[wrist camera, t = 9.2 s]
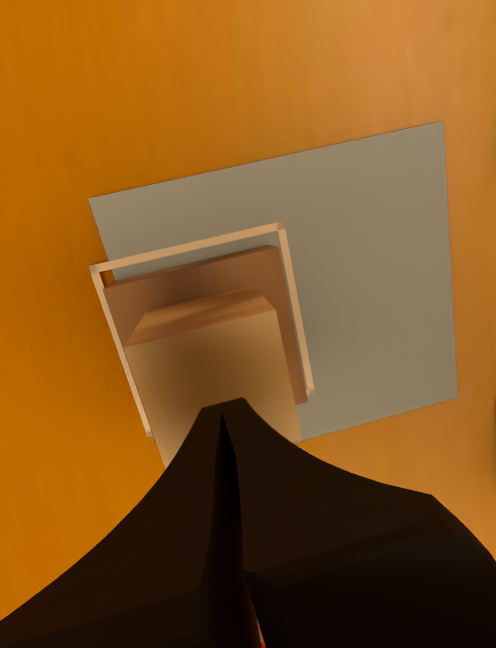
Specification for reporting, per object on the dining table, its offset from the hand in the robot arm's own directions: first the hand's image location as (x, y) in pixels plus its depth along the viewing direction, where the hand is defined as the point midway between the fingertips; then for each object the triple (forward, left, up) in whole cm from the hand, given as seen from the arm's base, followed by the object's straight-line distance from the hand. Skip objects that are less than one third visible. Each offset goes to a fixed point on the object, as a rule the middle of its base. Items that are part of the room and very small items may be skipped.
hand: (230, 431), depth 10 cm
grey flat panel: (-5, 0, -10) cm, 11 cm away
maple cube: (0, 0, -7) cm, 7 cm away
